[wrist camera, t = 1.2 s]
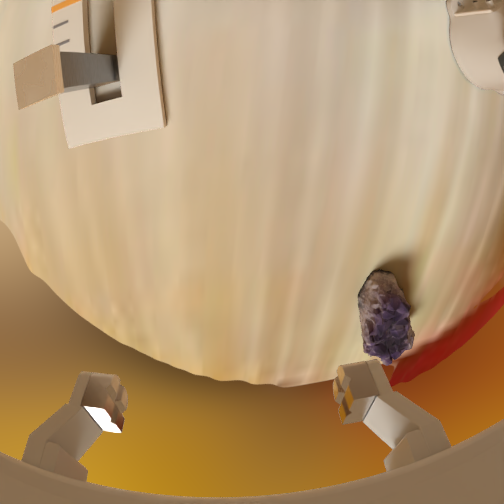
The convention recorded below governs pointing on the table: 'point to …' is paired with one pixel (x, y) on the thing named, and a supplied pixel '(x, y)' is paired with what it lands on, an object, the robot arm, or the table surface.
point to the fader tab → (61, 73)
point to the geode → (384, 317)
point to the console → (130, 72)
